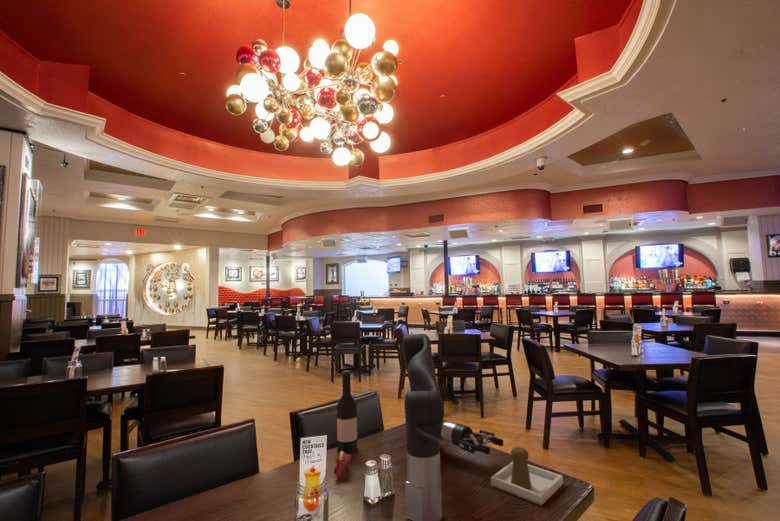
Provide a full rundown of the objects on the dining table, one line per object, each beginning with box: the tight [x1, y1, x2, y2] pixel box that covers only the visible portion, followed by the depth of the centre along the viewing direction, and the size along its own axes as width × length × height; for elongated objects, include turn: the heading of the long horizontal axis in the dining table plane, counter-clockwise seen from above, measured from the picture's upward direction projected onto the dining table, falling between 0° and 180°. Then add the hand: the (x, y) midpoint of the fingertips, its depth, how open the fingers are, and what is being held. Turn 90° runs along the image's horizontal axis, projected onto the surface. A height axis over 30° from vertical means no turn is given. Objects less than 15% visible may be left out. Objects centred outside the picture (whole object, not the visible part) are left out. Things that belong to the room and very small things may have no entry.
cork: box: [510, 446, 531, 490], centre depth 115 cm, size 6×6×11 cm
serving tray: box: [490, 461, 564, 507], centre depth 116 cm, size 16×16×2 cm
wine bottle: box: [336, 369, 358, 454], centre depth 146 cm, size 8×8×30 cm
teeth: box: [333, 451, 352, 482], centre depth 126 cm, size 10×8×15 cm
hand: (496, 447), depth 124 cm, fingers open, 8 cm apart
